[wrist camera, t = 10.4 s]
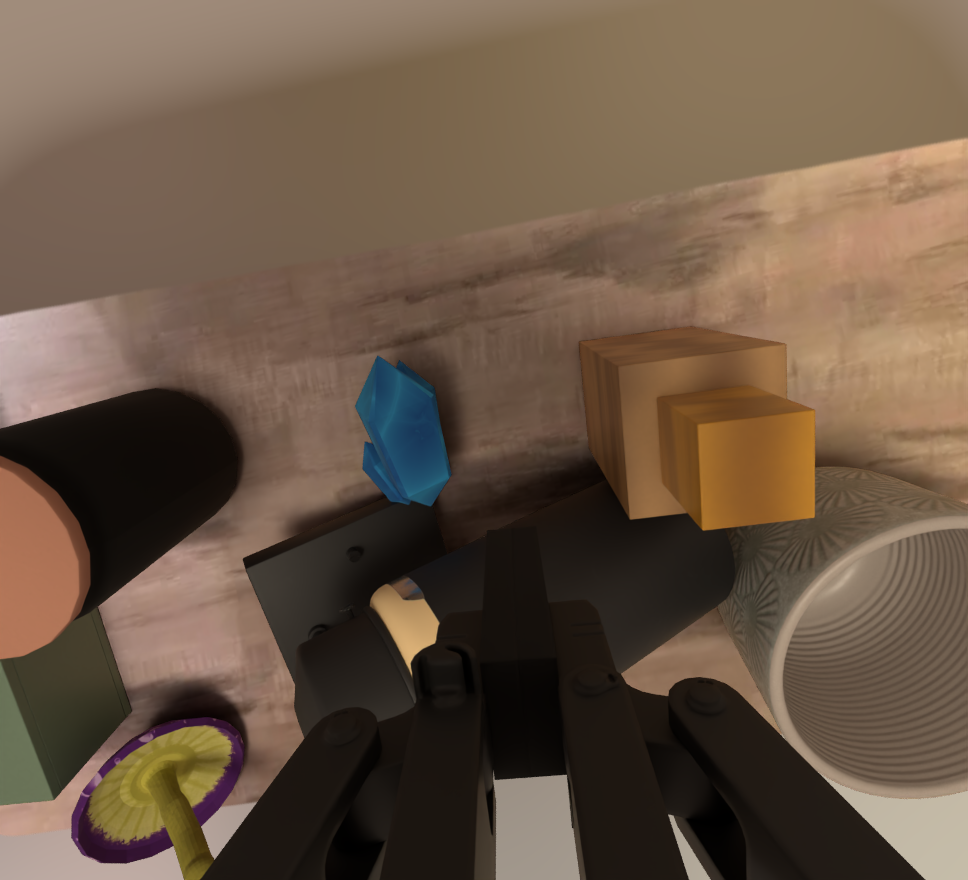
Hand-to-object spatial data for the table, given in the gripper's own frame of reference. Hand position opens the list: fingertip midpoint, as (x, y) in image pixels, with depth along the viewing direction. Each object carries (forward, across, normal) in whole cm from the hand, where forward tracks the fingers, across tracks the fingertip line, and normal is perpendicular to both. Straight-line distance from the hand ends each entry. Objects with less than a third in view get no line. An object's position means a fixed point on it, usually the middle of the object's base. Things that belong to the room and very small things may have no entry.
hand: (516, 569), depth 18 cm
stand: (+26, +10, 0) cm, 28 cm away
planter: (+26, +21, -13) cm, 36 cm away
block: (+12, +10, 0) cm, 15 cm away
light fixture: (+26, -2, -11) cm, 28 cm away
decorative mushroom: (+15, -24, -29) cm, 40 cm away
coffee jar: (+26, -26, -1) cm, 36 cm away
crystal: (+26, -6, 0) cm, 26 cm away
